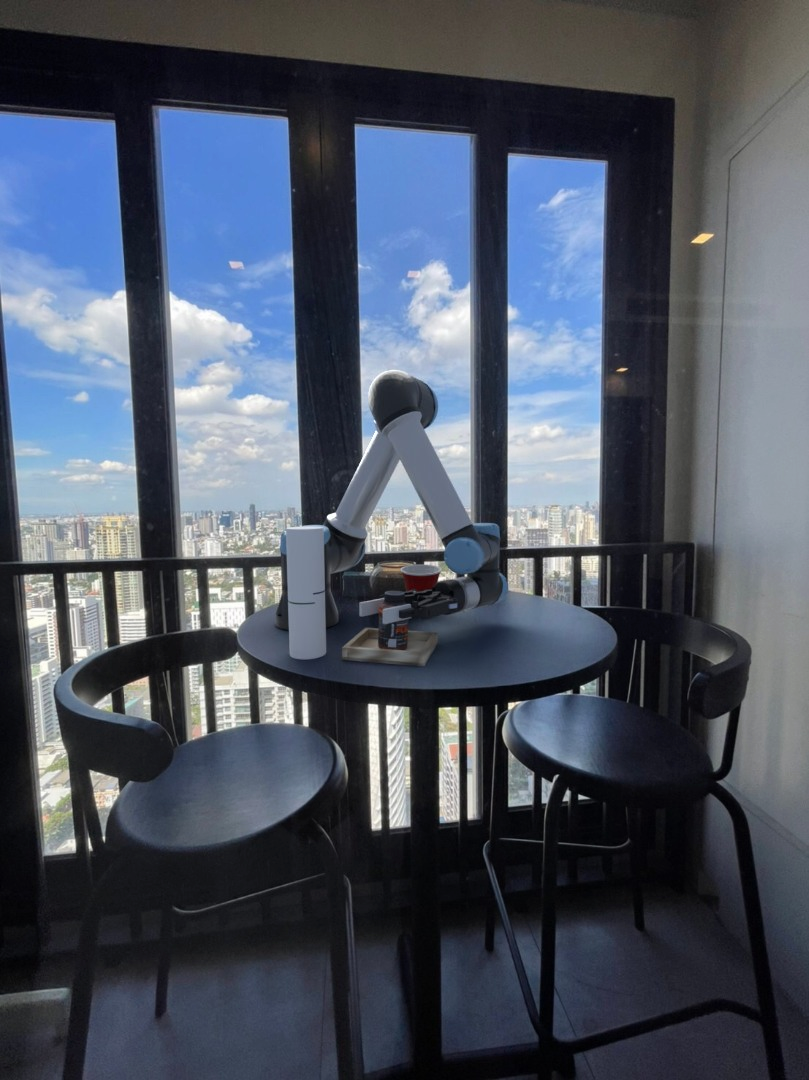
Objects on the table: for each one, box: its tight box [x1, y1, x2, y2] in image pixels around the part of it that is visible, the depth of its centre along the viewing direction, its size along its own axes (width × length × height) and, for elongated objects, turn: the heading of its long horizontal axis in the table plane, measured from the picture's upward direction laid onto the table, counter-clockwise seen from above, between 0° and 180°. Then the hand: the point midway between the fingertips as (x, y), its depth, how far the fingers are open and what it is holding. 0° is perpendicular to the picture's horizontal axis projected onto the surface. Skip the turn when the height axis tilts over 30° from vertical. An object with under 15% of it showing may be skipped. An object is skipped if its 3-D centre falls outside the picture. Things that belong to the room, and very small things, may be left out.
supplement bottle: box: [378, 590, 409, 650], centre depth 99 cm, size 6×6×11 cm
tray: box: [341, 627, 439, 667], centre depth 99 cm, size 16×14×2 cm
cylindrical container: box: [285, 526, 327, 660], centre depth 97 cm, size 7×7×25 cm
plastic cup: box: [400, 564, 442, 608], centre depth 130 cm, size 11×11×12 cm
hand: (371, 612), depth 95 cm, fingers open, 7 cm apart
